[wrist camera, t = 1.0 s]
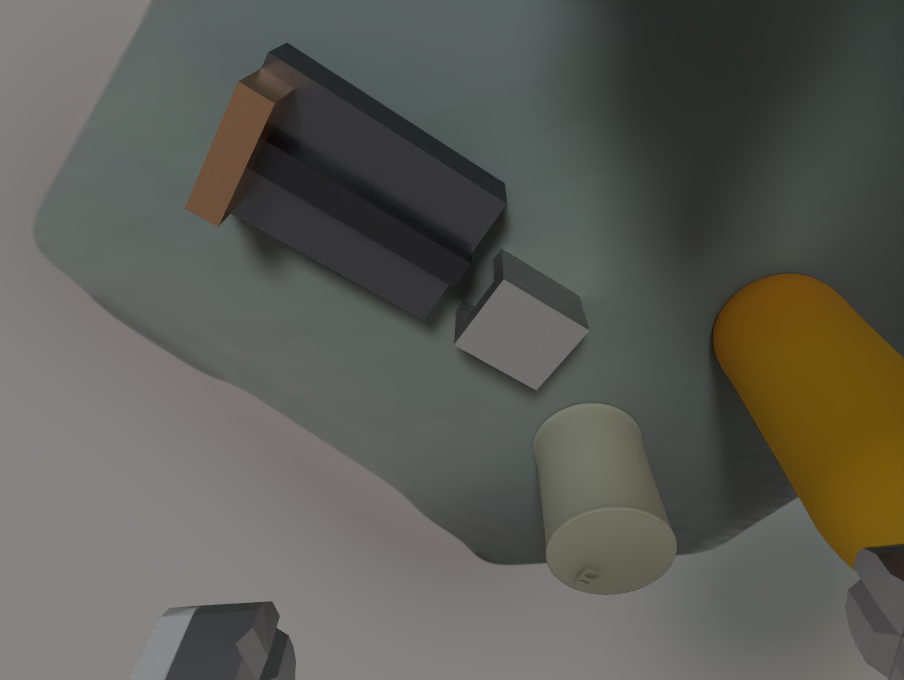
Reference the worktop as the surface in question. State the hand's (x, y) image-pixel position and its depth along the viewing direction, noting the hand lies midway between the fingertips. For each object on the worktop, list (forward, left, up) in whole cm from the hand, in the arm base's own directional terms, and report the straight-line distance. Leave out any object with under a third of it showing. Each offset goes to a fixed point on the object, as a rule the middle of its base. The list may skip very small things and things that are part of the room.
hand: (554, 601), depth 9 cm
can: (+19, +23, -36) cm, 47 cm away
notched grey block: (+11, +10, -36) cm, 39 cm away
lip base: (+9, -4, -36) cm, 37 cm away
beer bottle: (+2, +27, -36) cm, 45 cm away
